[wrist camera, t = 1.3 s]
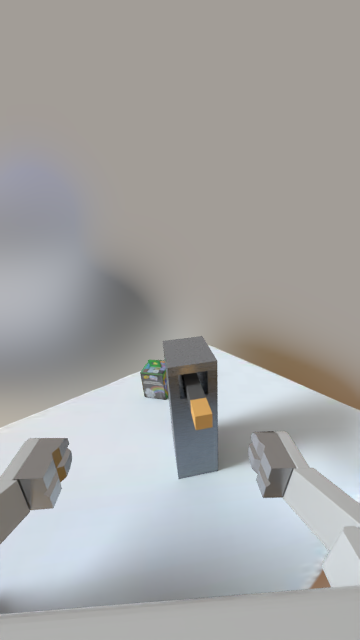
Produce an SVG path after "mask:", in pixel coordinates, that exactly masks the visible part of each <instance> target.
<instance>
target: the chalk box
mask: <svg viewBox="0 0 360 640" xmlns="http://www.w3.org/2000/svg"><path fill="white" fill-rule="evenodd" d="M140 374H141V379H142V385H143V390H144V395H145V397H150V398H157V399H164V400H166V399H167V397H168V386H167V376H166V367H165V361H162V360H148V363H147V364H146V365H145V366H144V368H143V370H142V371H141V372H140Z"/></svg>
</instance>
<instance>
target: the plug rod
mask: <svg viewBox="0 0 360 640" xmlns="http://www.w3.org/2000/svg"><path fill="white" fill-rule="evenodd" d="M181 377H182V380H183V384H184V388H185V392H186V395H187V399H188V403H189V407H190V410H191V414H192V418H193V422H194V425H195V429H196V430H200V429H206V428H211V427H213V418H212V411H211V409H210V406H209V404H208V401H207V399H206V396H205V394H204V391H203V388H202V386H201V383H200V381H199V378H198V376H197V373H189V374H183V375H181Z"/></svg>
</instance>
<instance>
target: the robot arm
mask: <svg viewBox="0 0 360 640" xmlns="http://www.w3.org/2000/svg"><path fill="white" fill-rule="evenodd" d="M251 440H252V443H251V444H250V445H249V448H248V455H249V460H250V464H251V467H252V469H253V470H254V471H255V472H256V473H257V474H258V475H257V479H256V481H257V483H258V486H259V489H260V491H261V494H262V497H263V498H274V497H283V499H284V500H285V501H286V503H287V504H288V505H289V506H290V507H291V508H292V509H293V511H294V512H295V513H296V514H297V515H298V516H299V517H300V518H301V520H302V521H303V522H304V523H305V524H306V525H307V526H308V528H309V529H310V530H311V531H312V532H313V533H314V534H315V535H316V537H317V538H318V539H319V540H320V541H321V542H322V543H323V545H324V546H325V547H326V548H327V549H328V550H329V552H328V554H327V556H326V558H325V559H324V561H323V564H322V568H323V570H324V572H325V574H326V577H327V579H328V581H329V583H330V585H331V587H330V588H318V589H305V590H293V591H281V592H268V593H256V594H244V595H231V596H219V597H206V598H194V599H182V600H169V601H157V602H144V603H132V604H120V605H107V606H95V607H83V608H70V609H58V610H45V611H33V612H21V613H8V614H0V640H360V504H359V503H358V502H356V501H355V500H354V499H353V498H351V497H350V496H349V495H347V494H346V493H345V492H344V491H342V490H341V489H340V488H338V487H337V486H336V485H335V484H333V483H332V482H331V481H329V480H328V479H327V478H326V477H324V476H323V475H322V474H321V473H319V472H318V471H317V470H315V469H314V468H310V467H309V466H308V464H307V463H306V461H305V459H304V458H303V456H302V455H301V453H300V451H299V450H298V448H297V447H296V445H295V443H294V442H293V440H292V439H291V437H290V435H289V434H288V433H287V432H286V431H275V432H274V431H268V432H253V433H252V434H251ZM68 445H69V441H68V438H30V439H28V440H27V441H26V442H25V443H24V444H23V445H22V447H21V448H20V450H19V451H18V453H17V454H16V455H15V457H14V458H13V460H12V461H11V463H10V464H9V465H8V467H7V468H6V470H5V471H4V473H3V474H2V475H1V477H0V544H1V543H2V542H3V541H4V540H5V539H6V538H7V536H8V535H9V534H10V533H11V532H12V531H13V530H14V529H15V528H16V527H17V526H18V524H19V523H20V522H21V521H22V520H23V519H24V518H25V517H26V516H27V515H28V513H29V512H30V510H38V509H50V508H54V506H55V503H56V501H57V499H58V496H59V494H60V492H61V489H62V487H61V483H60V482H61V481H62V480H64V479H65V478H66V477H67V475H68V472H69V470H70V466H71V462H72V453H71V451H70V450H69V449H68V448H67V447H68Z"/></svg>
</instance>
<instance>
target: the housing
mask: <svg viewBox="0 0 360 640" xmlns="http://www.w3.org/2000/svg"><path fill="white" fill-rule="evenodd" d="M163 348H164V358H165V367H166V376H167V386H168V395H169V404H170V414H171V423H172V432H173V441H174V448H175V455H176V463H177V470H178V477H179V479H180V478H185V477H190V476H195V475H200V474H204V473H209V472H214V471H218V411H217V360H216V358H215V356H214V355H213V353H212V351H211V350H210V348H209V347H208V345H207V343H206V342H205V340H204V338H203V337H202V336H200V337H192V338H184V339H176V340H169V341H163ZM189 373H197V376H198V378H199V381H200V383H201V386H202V388H203V391H204V394H205V396H206V399H207V401H208V404H209V406H210V409H211V411H212V418H213V427H211V428H206V429H200V430H196V429H195V425H194V422H193V418H192V414H191V410H190V407H189V403H188V399H187V395H186V392H185V388H184V384H183V380H182V377H181V375H183V374H189Z"/></svg>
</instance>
